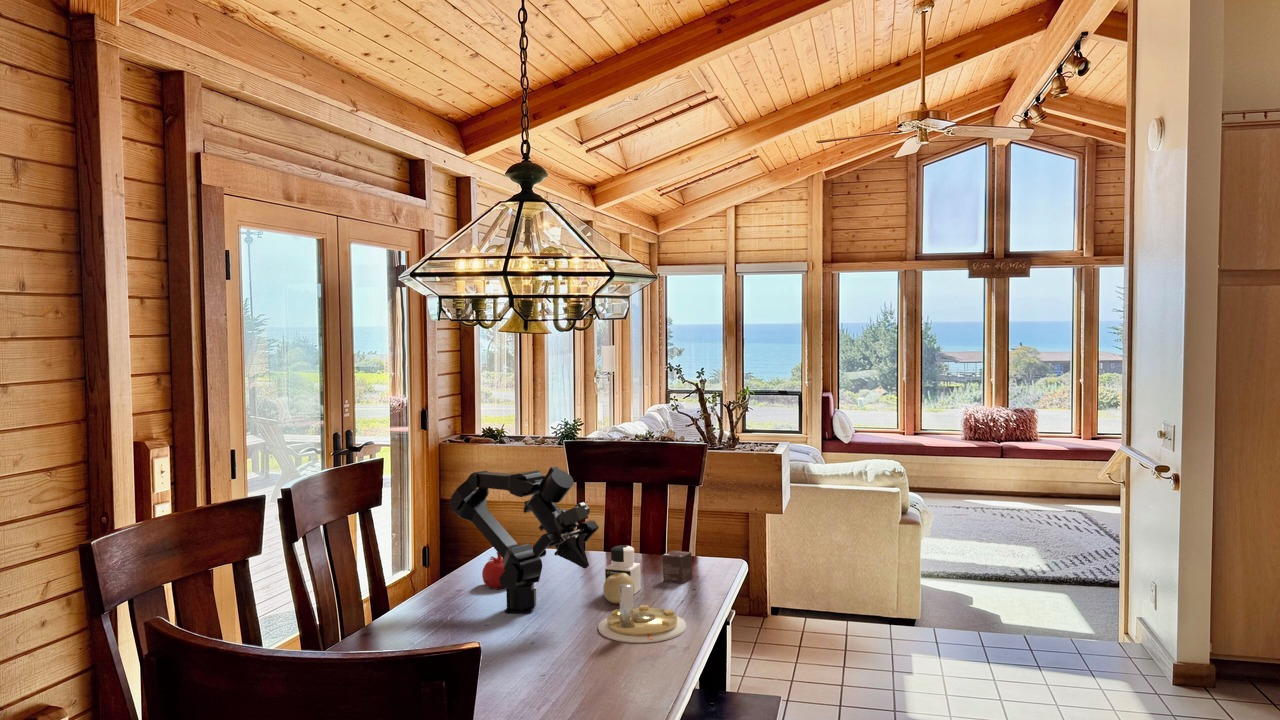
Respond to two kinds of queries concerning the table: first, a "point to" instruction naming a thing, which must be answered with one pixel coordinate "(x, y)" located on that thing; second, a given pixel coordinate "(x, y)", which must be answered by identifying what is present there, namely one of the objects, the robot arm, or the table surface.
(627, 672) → the table surface
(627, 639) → the base plate
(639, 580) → the medicine bottle
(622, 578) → the apple
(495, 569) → the pomegranate
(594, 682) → the table surface
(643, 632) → the brass lugged disc
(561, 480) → the robot arm
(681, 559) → the box
